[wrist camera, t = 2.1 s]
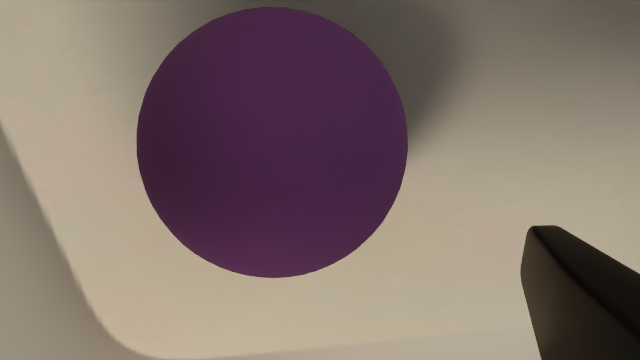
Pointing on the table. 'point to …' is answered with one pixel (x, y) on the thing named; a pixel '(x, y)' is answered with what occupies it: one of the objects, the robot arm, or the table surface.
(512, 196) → the table surface
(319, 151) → the ball
